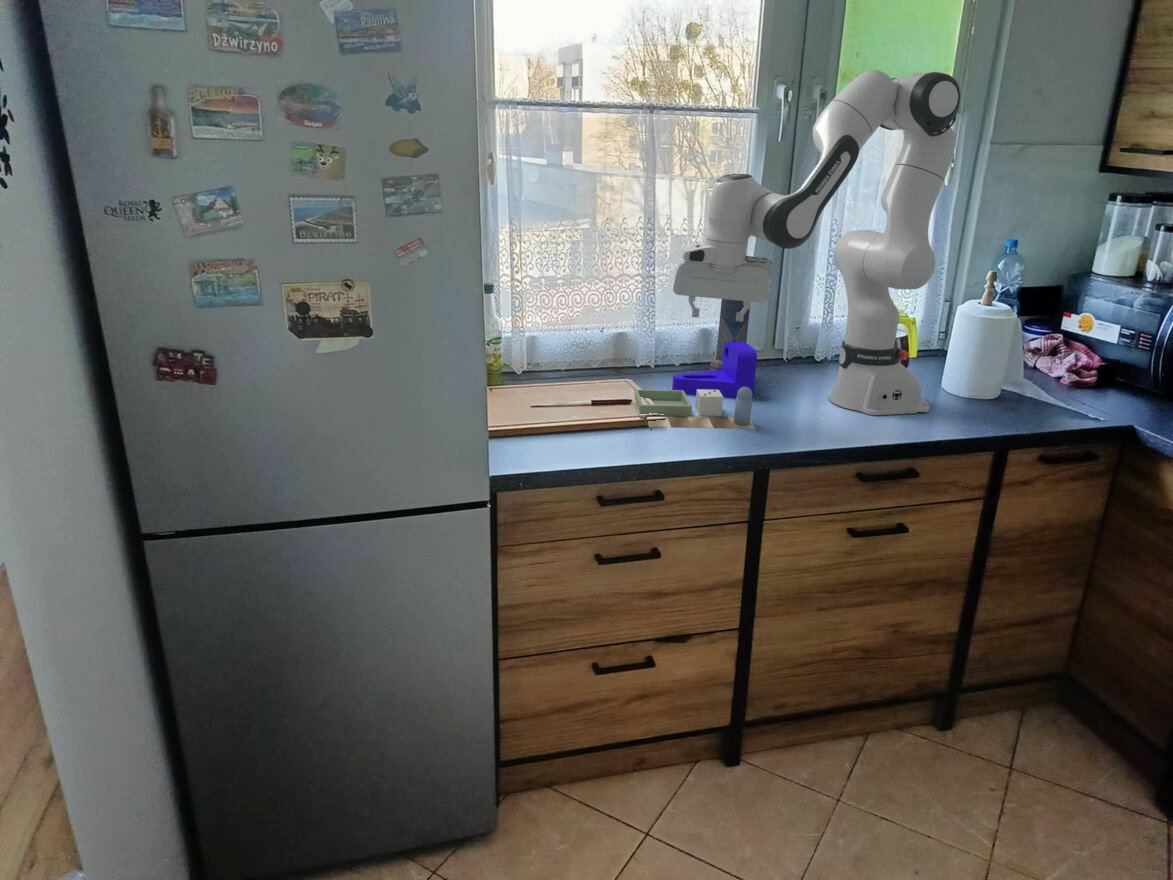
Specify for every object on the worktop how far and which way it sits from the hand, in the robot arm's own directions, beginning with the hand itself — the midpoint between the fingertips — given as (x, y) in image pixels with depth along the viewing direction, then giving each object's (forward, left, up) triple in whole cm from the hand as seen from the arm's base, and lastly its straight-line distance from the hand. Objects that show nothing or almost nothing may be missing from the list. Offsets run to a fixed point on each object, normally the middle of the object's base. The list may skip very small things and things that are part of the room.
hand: (717, 319), depth 189 cm
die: (0, +2, -21) cm, 21 cm away
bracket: (-3, -13, -22) cm, 25 cm away
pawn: (-6, +9, -21) cm, 23 cm away
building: (-10, -24, -21) cm, 34 cm away
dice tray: (+10, -1, -21) cm, 24 cm away
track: (+3, +9, -21) cm, 23 cm away
